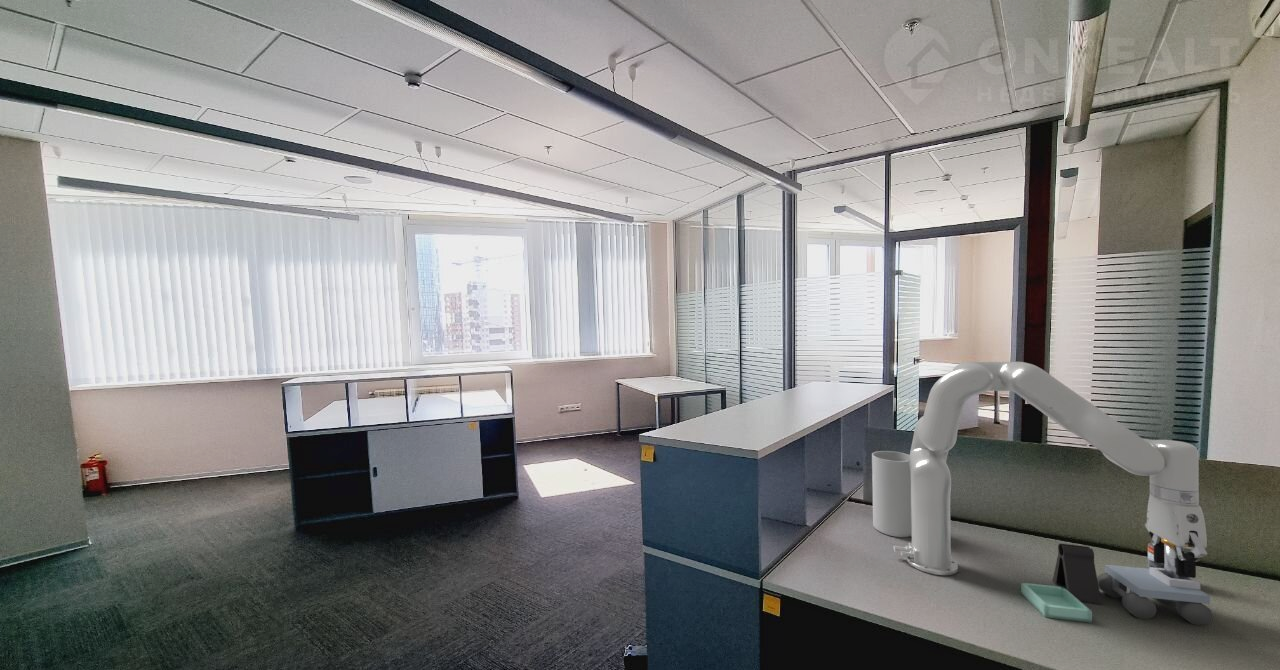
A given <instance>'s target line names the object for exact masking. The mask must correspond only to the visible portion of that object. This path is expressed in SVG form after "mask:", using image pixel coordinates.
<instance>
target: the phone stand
mask: <svg viewBox="0 0 1280 670" xmlns="http://www.w3.org/2000/svg"><path fill="white" fill-rule="evenodd" d="M1057 549H1058V550H1057V551H1058V553H1057V558H1056V563H1055V567H1054V571H1053V572H1054V573H1053V575H1052V576H1053V577H1052V582H1053V583H1054V584H1055V586H1058V587H1064V588H1065V589H1066V590H1068V591H1069V592H1070V593H1071V594H1072V595H1073V596H1075V597H1076V598H1077V599H1078V600H1079V601H1080V602H1081V603H1087V602H1088V603H1089V604H1095V605H1102V604H1103V603H1102V598H1101V592H1100V591H1101V590H1100V589H1099V585H1098V580H1097V577H1098V575H1097V571H1096V564H1095V552H1094V550H1093V548H1091V547H1090V546H1086V545H1084V546H1083V545H1074V544H1068V543H1058V546H1057Z"/></svg>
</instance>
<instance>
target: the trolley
mask: <svg viewBox="0 0 1280 670" xmlns="http://www.w3.org/2000/svg"><path fill="white" fill-rule="evenodd" d="M1097 580H1098V585H1099V590H1100V591H1102V592H1103V593H1104V594H1106V595H1107V596H1108V597H1111V598H1121V597H1122V598H1121V604H1122V606H1123V608H1124V609H1125V610H1127V611H1128V612H1129V613H1131V614H1132V615H1133V616H1134V617H1136V618H1137V619H1141V620H1148V619H1151V618H1153V617H1154V616H1155V615H1156V613H1157V607H1156V604H1155V602H1153V601H1152V600H1151V599H1155V600H1157V601H1158V602H1160V603H1165V604H1170V603H1173V602H1174V603H1175V611H1176V613H1177V614H1178V615H1179V616H1180V617H1181V618H1183V619H1185V620H1186V621H1188V622H1189V623H1190V624H1192V625H1195V626H1206V625H1208V624H1209V623H1211V622H1212V620H1213V612H1212V610H1211V608H1209V607H1208V606H1207V604H1208V605H1211V596H1210V595H1209V594H1207V593H1206V592H1204V591H1202V590H1201V582H1200V581H1198V580H1196V578H1190V577H1184V579H1174V578H1170V577H1168V576H1167V575H1165V574H1164V568H1153V567H1149V569H1148V567H1147V568H1144V567H1133V566H1124V565H1113V564H1105V565H1104V572H1102V573H1100V574H1099V575H1097ZM1128 589H1129V592H1127V591H1128ZM1149 598H1150V599H1149ZM1205 604H1206V605H1205Z"/></svg>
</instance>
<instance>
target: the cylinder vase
mask: <svg viewBox="0 0 1280 670" xmlns="http://www.w3.org/2000/svg"><path fill="white" fill-rule="evenodd" d="M909 456H910V454H908V453H904V452H900V451H892V450H880V451H879V450H878V451H874V452H872V453H871V470H872V471H871V472H872V473H871V476H872V478H871V479H872V483H871V484H872V525H873V528H874V529H875V530H877V531H878V532H880V533H882V534H884V535H887V536H891V537H895V538H910V537H912V528H911V472H910V465H909Z"/></svg>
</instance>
